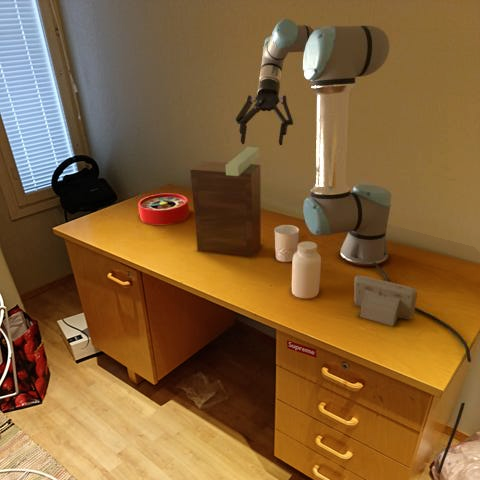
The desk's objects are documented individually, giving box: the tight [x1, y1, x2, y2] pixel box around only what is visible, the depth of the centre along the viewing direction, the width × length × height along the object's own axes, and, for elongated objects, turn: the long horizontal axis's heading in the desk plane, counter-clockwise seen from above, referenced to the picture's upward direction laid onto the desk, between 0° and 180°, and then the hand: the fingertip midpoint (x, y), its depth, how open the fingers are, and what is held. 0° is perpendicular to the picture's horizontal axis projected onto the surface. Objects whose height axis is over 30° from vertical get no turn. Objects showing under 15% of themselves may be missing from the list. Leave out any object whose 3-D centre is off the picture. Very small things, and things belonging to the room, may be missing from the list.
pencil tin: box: [226, 146, 260, 176], centre depth 141 cm, size 22×4×3 cm, turn 162°
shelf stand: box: [189, 160, 262, 259], centre depth 149 cm, size 10×20×28 cm, turn 72°
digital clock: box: [353, 274, 418, 327], centre depth 117 cm, size 16×9×11 cm, turn 47°
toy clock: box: [137, 192, 190, 226], centre depth 183 cm, size 20×6×20 cm
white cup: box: [274, 224, 300, 263], centre depth 147 cm, size 8×8×10 cm
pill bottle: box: [291, 240, 322, 299], centre depth 127 cm, size 8×8×15 cm
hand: (261, 143), depth 156 cm, fingers open, 13 cm apart
